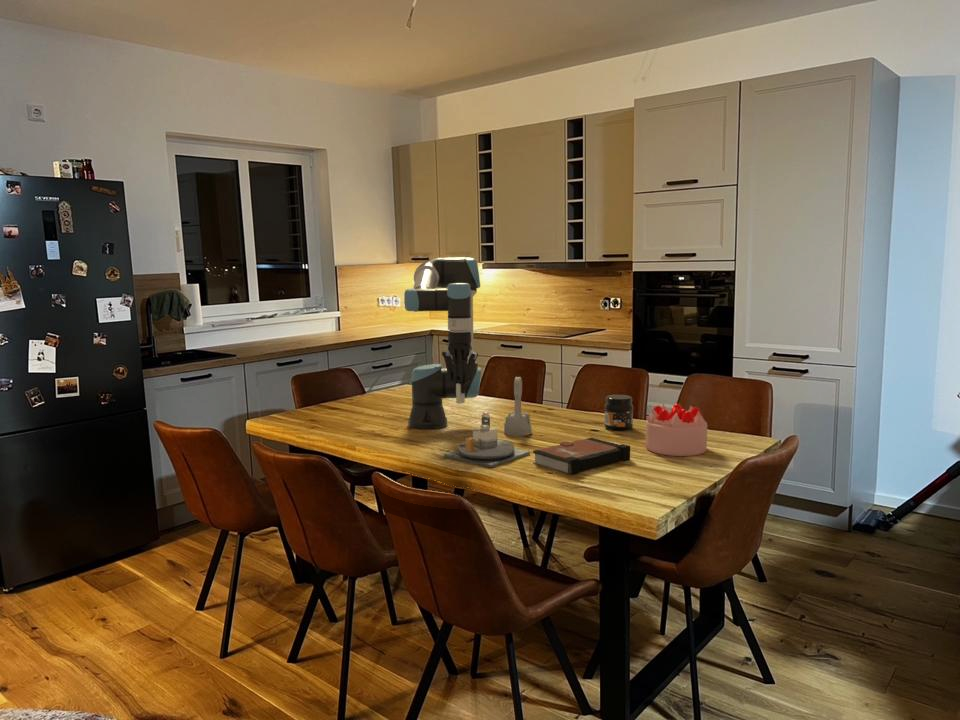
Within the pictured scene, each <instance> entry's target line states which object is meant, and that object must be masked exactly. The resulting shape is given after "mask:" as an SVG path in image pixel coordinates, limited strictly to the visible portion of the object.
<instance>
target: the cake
mask: <svg viewBox="0 0 960 720" xmlns="http://www.w3.org/2000/svg"><path fill="white" fill-rule="evenodd" d="M702 415H703V414H702V412H701V409H700V408H699V407H697V406H695V407H693V406H692V405H690V406H689V409H688V410H687V409H685V408H683V407H682V405H681V404H680V403H675V404H673V406H672V407H671V410H670V411H669V410H668V409H667V408H666V405H665V404H663V403H662V407H661V406H660V405H655V406H654V407H653V408H652V409H651V413H649V415H648V417H647V420H646V421H645V423H646V424H645V447H646V449H647V450H648V451H649V452H651V453H655V454H659V455H662V456H663V455H664V456H668V457H669V456H670V457H691V456H692V457H693V456H694V457H695V456H699V455H703V454H705V452H706V451H707V443H708V442H707V441H708V423H707V421H706V420H705V418H704V417H703V416H702Z"/></svg>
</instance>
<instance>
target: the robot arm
mask: <svg viewBox="0 0 960 720" xmlns="http://www.w3.org/2000/svg"><path fill="white" fill-rule="evenodd" d="M413 282H414V283H413V287H412V288H408V289H405V290H404V294H403V295H404V298H403V299H404V309H405V311H407V312H414V313H417V312H447V330H448V333H447V342H448V346H447V350H445V351H442V352H441V355H442V357H443V359H444V363H445V367H443V366H442V364H441V363H433V364H424V365H421V366H416V367H414V368H413V370H412V371H411V380H410V382H411V409H410V414H409V418H408V420H407V425H408V427H409V428H411V429H417V430H435V429H441V428H445V427H446V426H448V417H447V416H446V412H445V410H444V406H443V399H456V400H455V402H456V404H459V405H461V404H463V403H466V402H465V401H466V399H473V398H474V399H475V398H476V397H478V395H479V393H480V385H481V378H482V377H481V375H482V368H481V367H480V366H478V365H479V364H478V362H477V358H478V357H479V353H478V352H474V351H475V350H474V296H475V295H476V294H477V292H478V291H477V290H478V289H480V288H481V280H480V273H479V266H478V262H477V260H476V258H473V257H466V256H465V257H463V256H462V257H436V258H435V257H434V258H431V259H428V260H426V261H424V262H423V263H421V264H420V265H418V267H416V269H415V271H414V273H413Z"/></svg>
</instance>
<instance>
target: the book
mask: <svg viewBox="0 0 960 720" xmlns="http://www.w3.org/2000/svg"><path fill="white" fill-rule="evenodd" d="M532 453H533V454H534V462H532V463H533V464H534V465H537V466H541V467H543V468H547V469H549V470H552V471H556V472H560V473H562V474H566V475H568V476H574V475H577V474H580V473H583V472H586V471H590V470H595V469H597V468H602V467H605V466H609V465H612V464H613V465H614V464H616V463H621V462H627V461H630V460H631V445H628V444H624V443H621V444H618V443H614V442H610V441H607V440H603V439H598V438H595V437H589V438H584V439H578V440H575V441H562V442H560V443H559V444H557V445H556V444H555V445H552V446H547V447H544V448H540V449H534V450H532Z"/></svg>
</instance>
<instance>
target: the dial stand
mask: <svg viewBox="0 0 960 720" xmlns="http://www.w3.org/2000/svg"><path fill="white" fill-rule="evenodd" d="M481 425H489V428H491V417H490V414H489V412H487V411H484V412H482V414H481Z"/></svg>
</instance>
